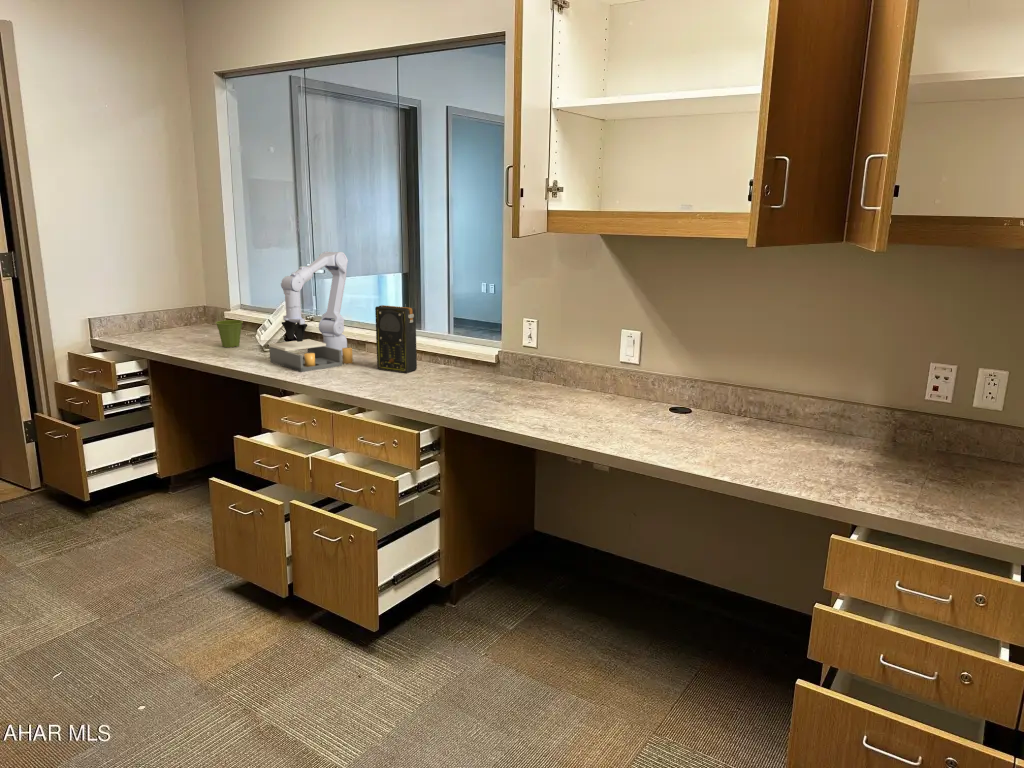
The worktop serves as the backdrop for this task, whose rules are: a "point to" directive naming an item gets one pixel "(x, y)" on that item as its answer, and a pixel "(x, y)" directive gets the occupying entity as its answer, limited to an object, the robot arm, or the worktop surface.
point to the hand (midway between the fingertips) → (295, 340)
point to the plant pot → (229, 332)
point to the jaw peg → (347, 355)
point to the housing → (323, 359)
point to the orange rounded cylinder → (309, 359)
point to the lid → (297, 345)
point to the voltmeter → (396, 338)
